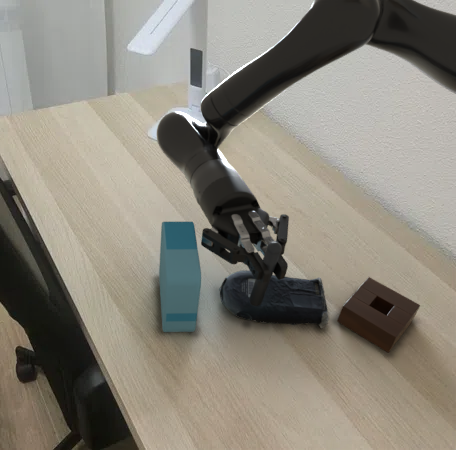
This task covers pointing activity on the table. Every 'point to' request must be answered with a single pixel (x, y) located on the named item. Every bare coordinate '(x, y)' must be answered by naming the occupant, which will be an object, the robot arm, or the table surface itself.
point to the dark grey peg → (270, 261)
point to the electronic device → (276, 300)
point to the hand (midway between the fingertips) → (274, 276)
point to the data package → (179, 277)
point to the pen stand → (378, 314)
